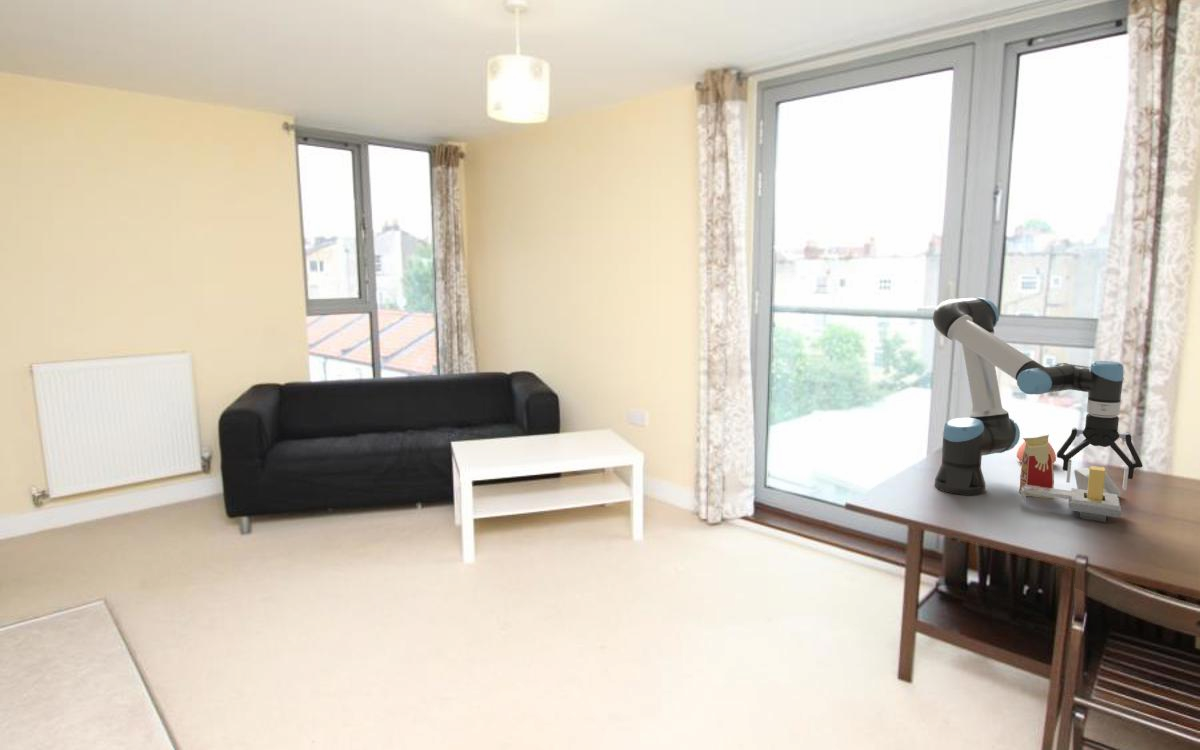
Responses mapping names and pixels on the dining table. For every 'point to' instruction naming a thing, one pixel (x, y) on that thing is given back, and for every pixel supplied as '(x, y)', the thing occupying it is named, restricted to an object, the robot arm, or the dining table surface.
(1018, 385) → the robot arm
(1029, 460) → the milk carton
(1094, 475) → the yellow rectangular block
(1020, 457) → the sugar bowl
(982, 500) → the dining table surface
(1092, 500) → the grey slotted fixture
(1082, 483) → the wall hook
